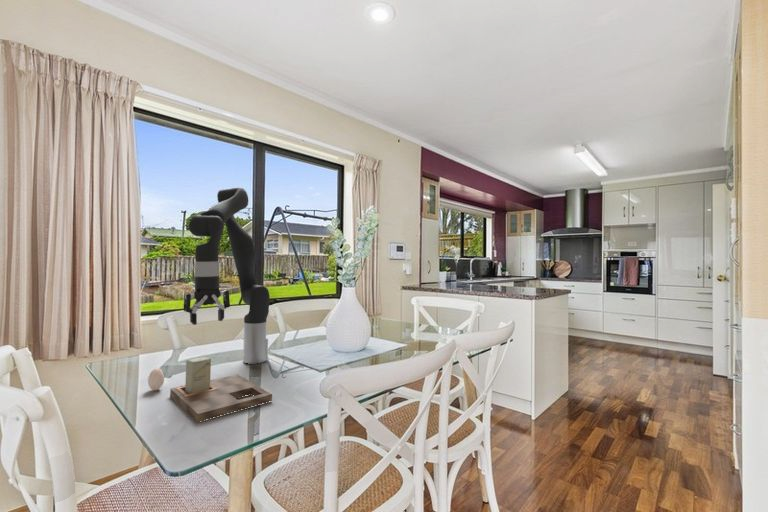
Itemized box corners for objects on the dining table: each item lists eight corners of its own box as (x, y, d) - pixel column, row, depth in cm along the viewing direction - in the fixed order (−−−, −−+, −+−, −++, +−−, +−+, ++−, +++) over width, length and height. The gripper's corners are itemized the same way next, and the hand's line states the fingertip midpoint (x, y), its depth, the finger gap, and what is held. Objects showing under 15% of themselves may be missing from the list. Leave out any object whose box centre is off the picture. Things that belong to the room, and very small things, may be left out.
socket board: (237, 381, 135) (237, 373, 135) (271, 402, 116) (272, 393, 116) (170, 396, 119) (170, 387, 119) (197, 423, 101) (197, 413, 101)
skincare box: (191, 401, 116) (192, 362, 116) (184, 397, 118) (185, 359, 118) (210, 395, 121) (211, 358, 121) (203, 392, 123) (204, 355, 123)
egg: (145, 393, 121) (145, 370, 121) (151, 388, 126) (151, 366, 126) (160, 392, 122) (161, 370, 122) (166, 387, 127) (166, 365, 127)
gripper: (223, 273, 132) (224, 318, 132) (180, 275, 122) (180, 324, 122) (232, 274, 127) (233, 321, 127) (188, 276, 116) (189, 327, 117)
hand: (207, 322), depth 125 cm, fingers open, 8 cm apart
